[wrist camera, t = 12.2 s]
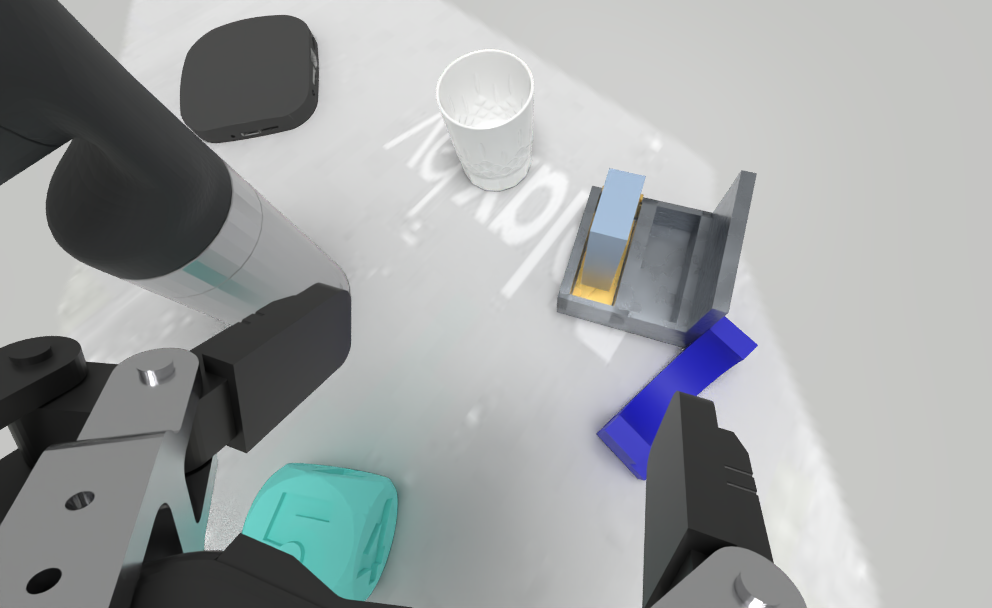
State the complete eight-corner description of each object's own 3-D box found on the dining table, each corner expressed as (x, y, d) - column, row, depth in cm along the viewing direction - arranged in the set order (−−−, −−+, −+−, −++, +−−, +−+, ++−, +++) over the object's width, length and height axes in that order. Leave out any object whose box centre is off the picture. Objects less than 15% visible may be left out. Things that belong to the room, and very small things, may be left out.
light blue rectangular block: (580, 283, 41) (590, 231, 31) (595, 233, 42) (609, 168, 32) (609, 291, 40) (627, 240, 31) (623, 240, 41) (645, 176, 32)
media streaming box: (202, 50, 56) (184, 28, 54) (319, 27, 56) (307, 4, 53) (193, 151, 52) (172, 133, 49) (320, 127, 51) (307, 108, 48)
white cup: (444, 154, 48) (418, 79, 38) (510, 116, 48) (500, 33, 39) (483, 211, 45) (466, 146, 36) (552, 170, 46) (553, 95, 36)
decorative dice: (406, 479, 38) (370, 484, 31) (383, 589, 36) (339, 624, 28) (315, 462, 39) (260, 463, 32) (288, 567, 37) (220, 595, 30)
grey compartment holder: (557, 311, 41) (559, 268, 32) (588, 209, 44) (599, 141, 34) (684, 348, 39) (728, 312, 30) (709, 237, 42) (756, 173, 32)
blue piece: (637, 478, 37) (653, 482, 31) (596, 433, 38) (604, 429, 32) (742, 375, 38) (775, 360, 32) (698, 335, 39) (723, 315, 34)
